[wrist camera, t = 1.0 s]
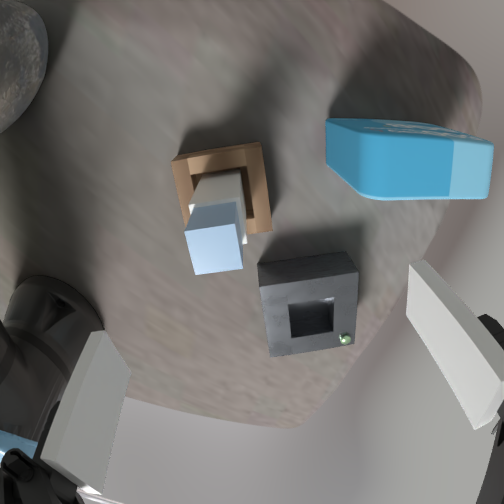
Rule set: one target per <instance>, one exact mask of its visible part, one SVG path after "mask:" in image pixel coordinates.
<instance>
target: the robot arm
mask: <svg viewBox="0 0 504 504" xmlns="http://www.w3.org/2000/svg"><path fill="white" fill-rule="evenodd" d="M407 298H408V299H407V311H406V316H407V317H408V319H409V320H410V322H411V323H412V325H413V326H414V328H415V329H416V331H417V332H418V334H419V336H420V337H421V339H422V340H423V342H424V343H425V345H426V347H427V348H428V350H429V351H430V353H431V355H432V356H433V358H434V359H435V361H436V363H437V364H438V366H439V368H440V370H441V371H442V373H443V375H444V376H445V378H446V379H447V381H448V383H449V385H450V386H451V388H452V390H453V391H454V394H455V395H456V397H457V399H458V401H459V402H460V404H461V406H462V408H463V410H464V412H465V413H466V415H467V417H468V419H469V421H470V422H471V424H472V427H473V428H474V430H476V429H478V428H479V427H481V426H483V425H485V424H487V423H489V422H490V421H491V420H492V419H493V418H494V416H495V414H496V413H497V412H498V414H499V416H500V420H499V421H498V423H497V424H496V426H495V427H494V429H493V431H492V433H491V434H494V433H495V432H496V430H497V432H496V437H495V441H494V446H493V449H492V453H491V457H490V461H489V465H488V468H487V472H486V475H485V478H484V481H483V484H482V487H481V490H480V493H479V496H478V499H477V502H476V504H504V329H503V327H502V326H501V325H500V324H499V323H498V322H497V320H495V319H493V318H492V317H490V316H488V315H487V314H484V315H481V316H479V317H476V316H475V315H474V313H473V312H472V311H471V310H470V309H469V308H468V306H467V305H466V304H465V303H464V302H463V301H462V299H461V298H460V297H459V296H458V295H457V294H456V293H455V292H454V290H453V289H452V288H451V287H450V286H449V285H448V284H447V283H446V282H445V281H444V280H443V278H441V276H440V275H439V274H438V273H437V272H436V271H435V270H434V269H433V268H432V267H431V266H430V265H429V264H428V263H427V262H426V261H425V260H421V261H418V262H414V263H411V264H409V280H408V297H407ZM130 375H131V371H130V369H129V368H128V366H127V365H126V363H125V362H124V360H123V359H122V357H121V356H120V354H119V352H118V351H117V349H116V348H115V346H114V344H113V343H112V341H111V340H110V338H109V336H108V335H107V333H106V331H105V330H103V327H102V324H101V321H100V319H99V317H98V315H97V313H96V312H95V310H94V309H93V308H92V306H91V305H90V304H89V303H88V301H87V300H86V299H85V298H84V297H83V296H82V295H81V294H79V293H78V292H77V291H76V290H74V289H73V288H72V287H70V286H69V285H67V284H65V283H63V282H61V281H59V280H57V279H54V278H51V277H46V276H33V277H30V278H27V279H26V280H24V281H23V282H22V283H21V284H20V285H19V286H18V288H17V289H16V290H15V291H14V293H13V294H12V296H11V299H10V303H9V306H8V308H7V311H6V314H5V317H4V321H3V323H2V322H1V320H0V463H1V468H0V504H84V502H83V499H82V498H81V496H80V495H79V493H78V492H76V490H77V486H78V487H79V488H81V489H82V490H84V491H85V492H87V493H94V494H100V495H102V493H103V488H104V483H105V478H106V473H107V468H108V464H109V459H110V455H111V450H112V446H113V442H114V437H115V433H116V429H117V425H118V421H119V417H120V413H121V409H122V405H123V401H124V397H125V394H126V390H127V386H128V383H129V379H130Z"/></svg>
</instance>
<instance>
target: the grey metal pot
mask: <svg viewBox="0 0 504 504" xmlns="http://www.w3.org/2000/svg"><path fill="white" fill-rule="evenodd" d="M47 57H48V37H47V32H46V27H45V25H44V23H43V20H42V18H41V17H40V15H39V14H38V13H37V12H36V11H35V10H34V9H32V8H31V7H29V6H27V5H25V4H23V3H21V2H18V1H14V0H0V133H2V132H3V131H4V130H6V129H7V128H8V127H9V126H10V125H12V124H13V123H14V122H15V121H16V120H17V119H18V118H19V117H20V116H21V115H22V113H23V112H24V111H25V110H26V109H27V107H28V106H29V105H30V103H31V102H32V100H33V98H34V97H35V95H36V93H37V91H38V89H39V87H40V85H41V83H42V81H43V79H44V76H45V72H46V65H47Z"/></svg>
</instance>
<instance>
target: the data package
mask: <svg viewBox="0 0 504 504" xmlns="http://www.w3.org/2000/svg"><path fill="white" fill-rule="evenodd" d="M325 123H326V164H327V166H329V167H330V168H331V169H332V170H333V171H334V172H335V173H336V174H338V175H339V176H340V177H341V178H342V179H343V180H344V181H345V182H347V183H348V184H349V185H350V186H351V187H352V188H353V189H354V190H355V191H356V192H357V193H359V194H360V195H362V196H364V197H367V198H370V199H376V200H416V199H484V198H486V197H487V196H488V192H489V186H490V178H491V171H492V161H493V151H494V145H493V143H491V142H490V141H487V140H484V139H481V138H478V137H475V136H472V135H469V134H465V133H462V132H459V131H455V130H452V129H448V128H444V127H441V126H437V125H433V124H428V123H421V122H410V121H397V120H380V119H355V118H330V119H327V120H326V121H325Z"/></svg>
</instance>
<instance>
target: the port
mask: <svg viewBox="0 0 504 504" xmlns="http://www.w3.org/2000/svg"><path fill="white" fill-rule="evenodd" d="M257 267H258V278H259V288H260V295H261V301H262V308H263V314H264V320H265V327H266V333H267V340H268V346H269V353H270V357H277V356H284V355H291V354H298V353H304V352H311V351H317V350H323V349H328V348H334V347H340V346H345V345H350V344H354V341H355V329H356V315H357V298H358V277H359V272H358V270H357V268H356V267H355V265H354V263H353V262H352V260H351V258H350V257H349V255H348V253H347V252H346V251H345V252H338V253H331V254H324V255H317V256H310V257H303V258H296V259H289V260H282V261H275V262H268V263H261V264H257Z"/></svg>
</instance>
